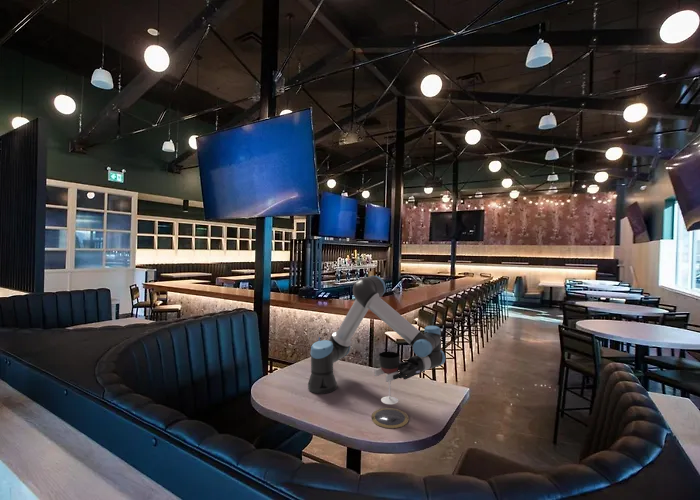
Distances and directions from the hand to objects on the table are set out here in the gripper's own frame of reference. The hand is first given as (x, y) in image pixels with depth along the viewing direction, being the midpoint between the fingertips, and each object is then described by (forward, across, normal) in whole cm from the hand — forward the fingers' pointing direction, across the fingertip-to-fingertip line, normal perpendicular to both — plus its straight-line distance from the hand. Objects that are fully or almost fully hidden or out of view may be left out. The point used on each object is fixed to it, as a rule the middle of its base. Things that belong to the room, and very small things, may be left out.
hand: (380, 375), depth 146 cm
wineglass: (-5, 0, -12) cm, 13 cm away
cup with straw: (-11, +70, -20) cm, 74 cm away
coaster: (-5, 0, -20) cm, 21 cm away
